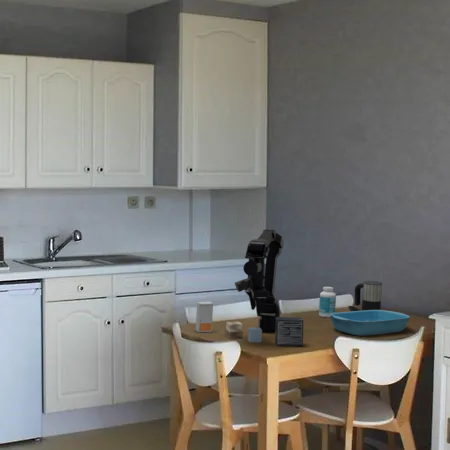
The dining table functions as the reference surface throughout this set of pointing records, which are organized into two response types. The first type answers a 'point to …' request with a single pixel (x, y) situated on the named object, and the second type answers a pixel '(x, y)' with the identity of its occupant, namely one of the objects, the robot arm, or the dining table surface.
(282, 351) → the dining table surface
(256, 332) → the blue cube
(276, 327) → the small box
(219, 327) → the dining table surface
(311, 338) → the dining table surface
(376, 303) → the milk frother
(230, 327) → the tower mid
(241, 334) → the tower base
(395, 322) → the casserole dish
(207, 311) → the skincare box
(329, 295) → the pill bottle
